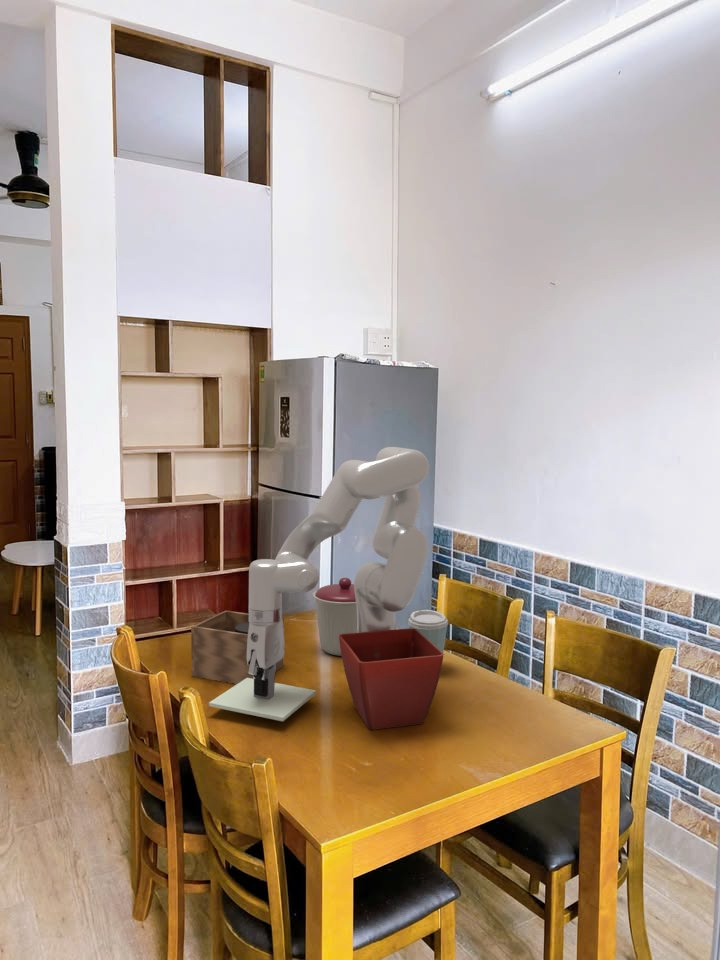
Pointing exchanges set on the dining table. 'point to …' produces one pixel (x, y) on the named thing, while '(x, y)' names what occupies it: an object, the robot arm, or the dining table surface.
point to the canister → (335, 614)
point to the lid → (264, 698)
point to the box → (221, 648)
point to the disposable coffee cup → (430, 626)
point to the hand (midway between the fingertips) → (264, 692)
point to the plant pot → (391, 675)
